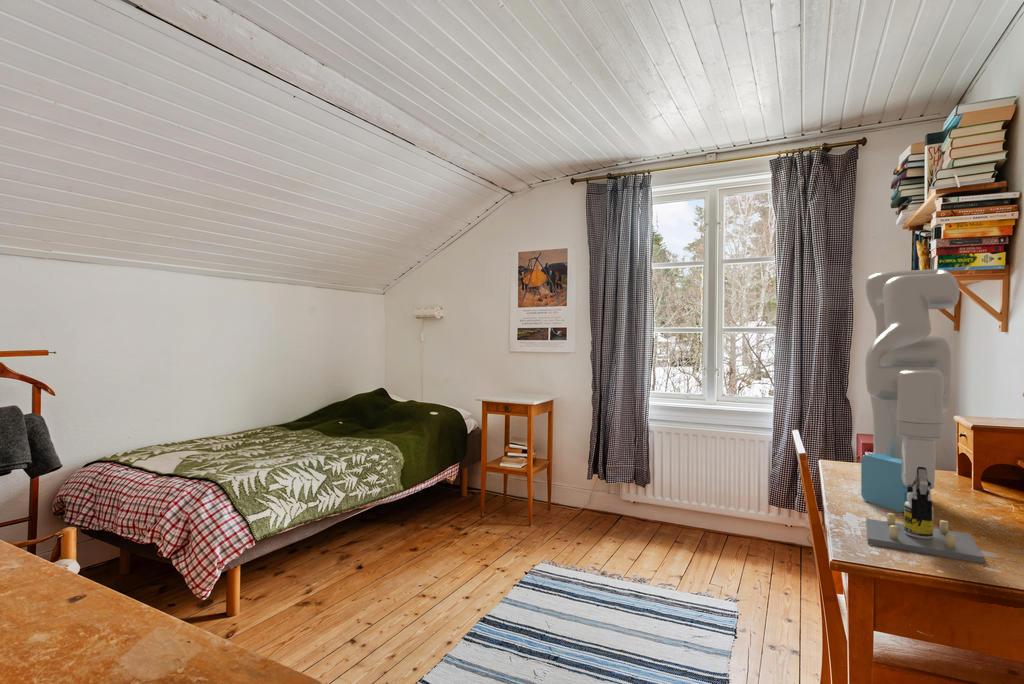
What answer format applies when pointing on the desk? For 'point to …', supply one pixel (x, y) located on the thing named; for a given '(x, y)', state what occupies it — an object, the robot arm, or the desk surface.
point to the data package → (883, 481)
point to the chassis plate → (923, 540)
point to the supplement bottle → (916, 522)
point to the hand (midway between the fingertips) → (919, 512)
